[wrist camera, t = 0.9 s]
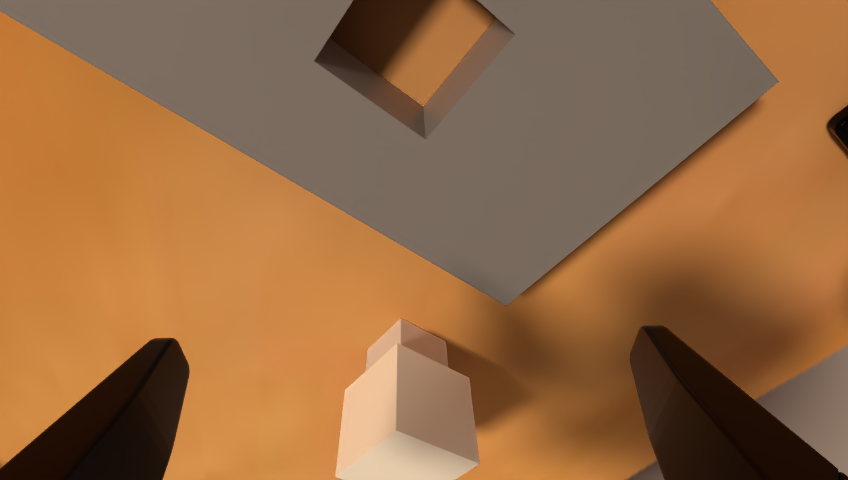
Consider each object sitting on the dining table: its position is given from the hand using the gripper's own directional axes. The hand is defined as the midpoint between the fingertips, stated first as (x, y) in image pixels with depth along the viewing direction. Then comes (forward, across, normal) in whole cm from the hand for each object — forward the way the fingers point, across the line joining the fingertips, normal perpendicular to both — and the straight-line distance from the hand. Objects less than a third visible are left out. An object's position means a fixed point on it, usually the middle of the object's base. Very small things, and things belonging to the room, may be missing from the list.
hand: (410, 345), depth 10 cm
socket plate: (+14, 0, -2) cm, 14 cm away
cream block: (+14, +1, +16) cm, 21 cm away
